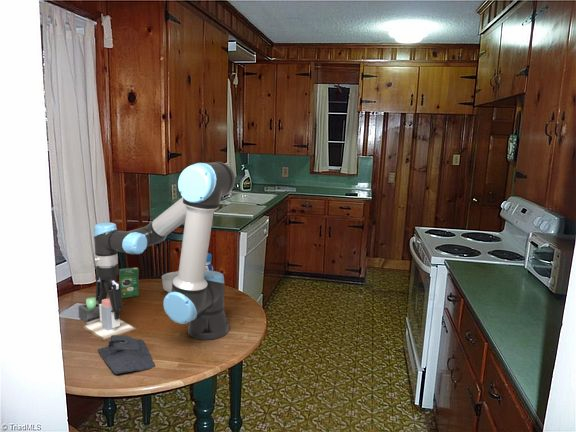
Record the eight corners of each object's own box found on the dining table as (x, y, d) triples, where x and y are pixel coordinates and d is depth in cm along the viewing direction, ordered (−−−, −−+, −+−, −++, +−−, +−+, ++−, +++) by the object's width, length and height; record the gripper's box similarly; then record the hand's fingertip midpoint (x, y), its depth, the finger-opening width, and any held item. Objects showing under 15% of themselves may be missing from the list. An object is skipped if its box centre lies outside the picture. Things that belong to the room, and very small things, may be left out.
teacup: (179, 296, 194) (179, 279, 193) (157, 294, 196) (157, 277, 195) (192, 286, 208) (192, 270, 206) (171, 284, 210) (171, 268, 208)
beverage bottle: (190, 298, 193) (190, 255, 189) (201, 292, 200) (201, 250, 197) (206, 301, 190) (206, 258, 186) (217, 295, 197) (217, 253, 194)
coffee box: (138, 293, 196) (137, 266, 193) (139, 296, 193) (138, 268, 191) (119, 296, 192) (118, 268, 189) (120, 298, 189) (119, 270, 187)
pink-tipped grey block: (117, 327, 161) (116, 299, 159) (107, 330, 158) (106, 302, 156) (112, 324, 164) (111, 296, 161) (102, 327, 160) (100, 299, 158)
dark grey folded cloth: (106, 382, 128) (105, 367, 127) (97, 349, 146) (96, 336, 146) (158, 369, 136) (158, 355, 135) (143, 340, 154) (142, 327, 153)
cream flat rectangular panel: (136, 329, 161) (136, 326, 161) (103, 341, 151) (103, 338, 151) (113, 316, 172) (113, 313, 172) (81, 326, 162) (80, 324, 162)
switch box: (105, 317, 170) (104, 305, 169) (87, 323, 165) (86, 311, 164) (96, 312, 174) (95, 301, 173) (79, 317, 169) (78, 306, 168)
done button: (98, 310, 169) (97, 298, 168) (89, 313, 166) (88, 301, 166) (94, 308, 171) (93, 296, 171) (85, 310, 169) (84, 298, 168)
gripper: (83, 261, 160) (86, 318, 164) (111, 273, 147) (114, 335, 151) (102, 257, 166) (105, 312, 170) (131, 269, 153) (134, 328, 157)
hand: (109, 323), depth 160 cm, fingers open, 8 cm apart
